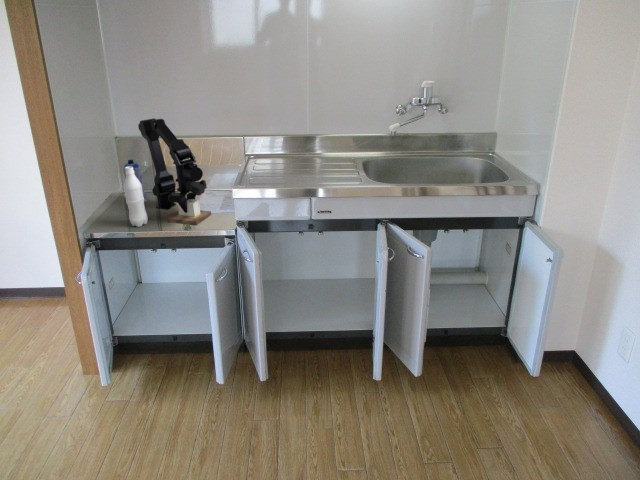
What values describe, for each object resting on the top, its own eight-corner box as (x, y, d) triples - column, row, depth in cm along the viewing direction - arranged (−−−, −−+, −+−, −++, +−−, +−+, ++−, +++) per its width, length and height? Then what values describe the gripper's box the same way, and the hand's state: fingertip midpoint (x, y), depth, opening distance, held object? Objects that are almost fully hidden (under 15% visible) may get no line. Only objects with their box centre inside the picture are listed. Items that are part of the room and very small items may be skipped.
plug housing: (179, 214, 216) (177, 201, 213) (184, 211, 219) (182, 198, 217) (194, 216, 213) (193, 203, 211) (200, 212, 217) (198, 199, 214)
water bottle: (134, 221, 215) (123, 164, 204) (151, 220, 215) (140, 164, 204) (128, 227, 209) (116, 170, 198) (145, 227, 208) (134, 169, 198)
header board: (168, 221, 214) (166, 210, 212) (183, 211, 224) (182, 200, 222) (197, 225, 210) (195, 214, 208) (211, 214, 220) (210, 203, 218)
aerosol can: (145, 197, 241) (138, 156, 233) (147, 202, 235) (140, 161, 226) (128, 200, 239) (120, 159, 230) (130, 205, 232) (121, 163, 224)
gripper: (188, 184, 199) (193, 220, 205) (212, 170, 215) (216, 204, 221) (164, 182, 202) (170, 218, 209) (189, 168, 218) (194, 202, 225)
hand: (189, 210), depth 216 cm, fingers closed on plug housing, 4 cm apart
